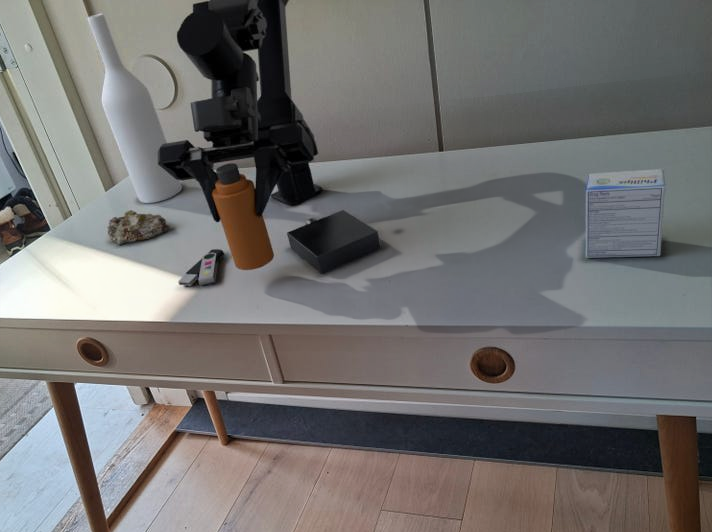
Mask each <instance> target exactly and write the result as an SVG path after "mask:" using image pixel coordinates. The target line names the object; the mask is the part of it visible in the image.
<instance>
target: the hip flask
mask: <svg viewBox="0 0 712 532" xmlns="http://www.w3.org/2000/svg"><path fill="white" fill-rule="evenodd" d="M286 236H287V240H288V243H289V246H290V250H292V251H293V252H294V253H295V254H297V255H298V256H299V257H300V258H301V259H302V260H303V261H305V262H306V263H307V264H308V265H309V266H311V267H312V268H313V269H314V270H316V271H317V272H318V273H320V275H323V274H326V273H327V272H330V271H332V270H334V269H338V268H340V267H341V266H344V265H346V264H349V263H351V262H353V261H356V260H359V259H361V258H363V257H365V256H368V255H369V254H372V253H375V252H376V251H379V250H381V249H382V248H381V246H382V245H381V242H380V241H381V240H380V237H379V236H380V235H379V231H378V230H376V229H375V228H373V227H371V225H368V224H367V223H365V222H363V221H362V220H360V219H358V217H356V216H355V215H352V214H351V213H349V212H348V211H346V210H345V209H342V210H339V211H337V212H335V213H332V214H329V215H327V216H325V217H322V218H319V219H318V218H316V217H310V218H309V219H307V220H306V222H305V223H304V225H302V226H300V227H298V228H295V229H292V230H289V231H287V232H286Z"/></svg>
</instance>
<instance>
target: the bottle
mask: <svg viewBox="0 0 712 532" xmlns="http://www.w3.org/2000/svg"><path fill="white" fill-rule="evenodd" d="M87 22H88V25H89V27H90V31H91V33H92V35H93V38H94V40H95V44H96V46H97V49H98V52H99V54H100V57H101V60H102V64H103V65H104V69H105V73H104V79H103V86H102V92H101V105H102V109H103V111H104V114H105V117H106V120H107V122H108V125H109V127H110V128H111V132H112V134H113V137H114V141H115V142H116V144H117V147H118V149H119V152H120V155H121V157H122V160H123V163H124V166H125V168H126V171H127V173H128V175H129V178H130V181H131V183H132V186H133V188H134V191H135V194H136V196H137V199H138V200H139V202H141V203H144V204H152V203H153V204H155V203H159V202H163V201H165V200H168V199H171V198H172V197H173V198H174V196H176V195H177V194H179V193H180V192H181V191H182V189H183V186H182V182H181V180H176V179H175V178H174V177H173V176H171V175H170V174H169V173H168V172H167V171H165V170H164V169H163V168H162V167H161V166H159V165H158V150H159V148H160V147H161V146H162V144H165V143H168V142H167V140H166V137H165V133H164V132H163V131H164V130H163V128H162V125H161V122H160V119H159V117H158V114H157V110H156V108H155V105H154V102H153V99H152V97H151V94H150V91H149V89H148V88H147V86H146V85H145V84H144V83H143V82H142V81H141V80H140V79H139V78H137V77H136V76H135V75H134V74H133V73H132V71H130V70H128V68H126V66H125V65H124V63H123V62H122V59H121V58H120V54H119V53H118V50H117V48H116V45H115V41H114V39H113V35H112V34H111V31H110V28H109V25H108V23H107V21H106V17H105V15H104V13H97V14H93V15H90V16H88V17H87Z"/></svg>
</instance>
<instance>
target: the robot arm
mask: <svg viewBox="0 0 712 532" xmlns="http://www.w3.org/2000/svg"><path fill="white" fill-rule="evenodd" d="M289 1H290V0H205V1H200V2H195V3H192V12H191V13H190V14H188V15H187V16H186V17H185V18H184V19H183V20H182V22H181V23H180V25H179V28H178V30H177V31H176V40H177V44H178V47H179V48H180V49H181V50H182V52H183V53H184V54H185V56H186V57H187V58H188V59H189V61H190V62H191V63H192V64H193V66H194V67H195V68H196V69H197V71H198V72H199V73H200V74H201V76H202V77H203V78H206V79H207V80H210V83H211V84H210V87H211V91H210V92H211V95H210V96H211V97H210V98H207V99H202V100H196V101H191V102H190V103H189V104H190V111H191V117H192V122H193V129H194V132H195V133H198V132H202V133H203V139H204V140H205V141H206V142H207V143H209V142H211V144H212V145H211V147H205V148H204V147H200V146H195V145H194V144H192V142H191V141H190V140H189V139H185V140H179V141H171V142H167V143H165V144H162V146H161V147H160V148H159V150H158V165H159V166H161V167H162V168H163V169H164V170H165V171H167V172H168V173H169V174H170V175H171V176H173V177H174V178H175V179H176V180H180V182H181V181H182V182H183V181H189V180H195V181H196V182H197V183H198V184H199V186H200V188H201V190H202V193H203V195H204V197H205V201H206V203H207V206H208V208H209V211H210V213H211V216H212V219H213V221H215V223H221V220H220V217H219V214H218V211H217V208H216V205H215V201H214V198H213V195H212V192H213V190H214V189H215V188H216V186H215V183H216V182H217V181H218V180H219V179H218V175H217V172H216V170H214V167H215V164H218V163H225V162H232V161H238V160H245V159H251V158H253V160H254V166H255V183H254V186H255V210H256V215H257V216H258V217H261V216H262V215H263V216H264V212H265V210H266V207H267V205H268V203H269V200H270V198H271V199H273V200H275V201H278V202H280V203H282V204H286V205H287V206H295V205H297V204H299V203H301V202H303V201H305V200H307V199H309V198H311V197H314V196H316V195H318V194H320V193H321V192H323V191H324V188H323V186H320V185H317V184H315V183H314V178H313V174H312V170H311V167H310V163H311V162H313V161H314V160H315V156H317V155H318V154H319V151H318V146H317V142H316V139H315V134H314V133H313V132H312V130H311V128H310V127H309V125H308V123H307V122H306V120H305V119H304V116H303V115H304V114H303V113H302V112H301V110H300V109H299V108H298V106H297V104H296V103H295V102H294V100H293V99H292V87H291V72H290V58H289V43H288V42H289V41H288V28H287V27H288V26H287V14H286V13H287V11H286V7H287V5H288V3H289ZM255 50H257V58H258V59H257V61H258V71H257V63H256V61H255V59H253V57H252V56H250V54H248V53H246V52H250V51H255ZM258 73H259V74H258ZM258 82H259V88H260V94H259V97H258ZM275 187H276V188H277V191H275V192H274V189H275Z"/></svg>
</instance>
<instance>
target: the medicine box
mask: <svg viewBox="0 0 712 532" xmlns="http://www.w3.org/2000/svg"><path fill="white" fill-rule="evenodd" d="M665 196H666V179H665V170H664V169H662V168H655V169H640V170H639V169H637V170H623V171H620V170H619V171H608V172H607V171H606V172H593V173H589V174H587V180H586V186H585V258H586V259H594V258H596V259H597V258H599V259H600V258H629V257H630V258H634V257H636V258H637V257H638V258H639V257H660V256H661V253H662V252H661V251H662V238H663V237H662V236H663V235H662V234H663V223H664V222H663V221H664V220H663V219H664V207H665Z"/></svg>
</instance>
